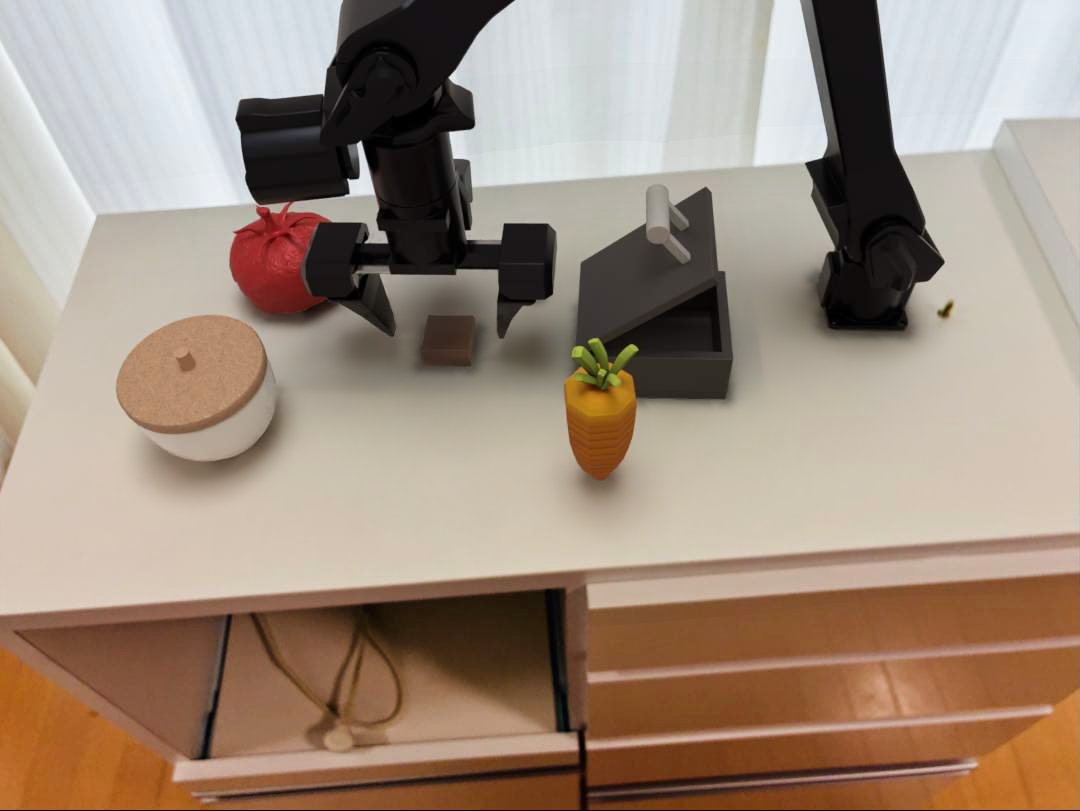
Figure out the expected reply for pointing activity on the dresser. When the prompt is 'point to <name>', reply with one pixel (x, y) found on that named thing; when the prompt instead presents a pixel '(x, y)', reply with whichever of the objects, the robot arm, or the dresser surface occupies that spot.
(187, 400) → the trinket box
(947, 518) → the dresser surface
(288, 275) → the red tomato
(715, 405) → the dresser surface
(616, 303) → the box lid
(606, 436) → the carrot
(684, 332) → the box
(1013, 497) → the dresser surface
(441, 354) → the walnut block
